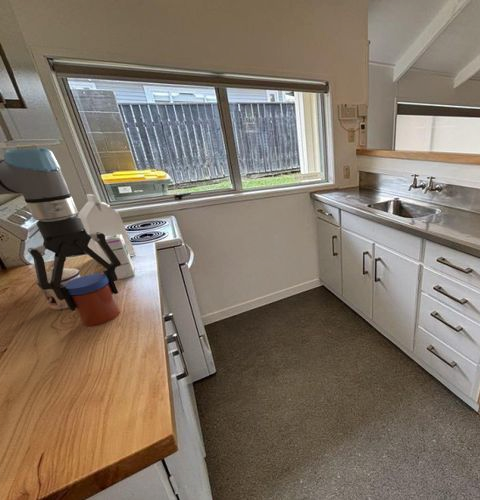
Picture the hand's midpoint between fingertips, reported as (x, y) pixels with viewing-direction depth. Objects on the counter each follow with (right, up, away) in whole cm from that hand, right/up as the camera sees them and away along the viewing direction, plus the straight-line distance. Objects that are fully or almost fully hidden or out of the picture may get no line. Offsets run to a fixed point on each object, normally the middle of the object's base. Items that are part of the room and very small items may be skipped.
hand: (94, 300), depth 75 cm
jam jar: (0, -5, +2) cm, 5 cm away
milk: (-30, +10, +43) cm, 53 cm away
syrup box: (-12, +4, +26) cm, 29 cm away
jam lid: (0, +5, -2) cm, 5 cm away
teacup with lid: (-15, -3, +9) cm, 18 cm away
